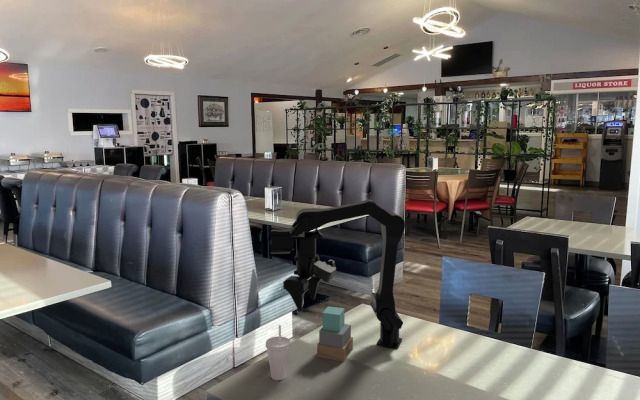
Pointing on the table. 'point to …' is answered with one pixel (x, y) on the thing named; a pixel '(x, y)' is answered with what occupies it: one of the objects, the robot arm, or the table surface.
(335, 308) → the teal cube
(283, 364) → the smoothie
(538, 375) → the table surface
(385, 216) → the robot arm
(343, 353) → the tower base
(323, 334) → the tower top
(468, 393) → the table surface
